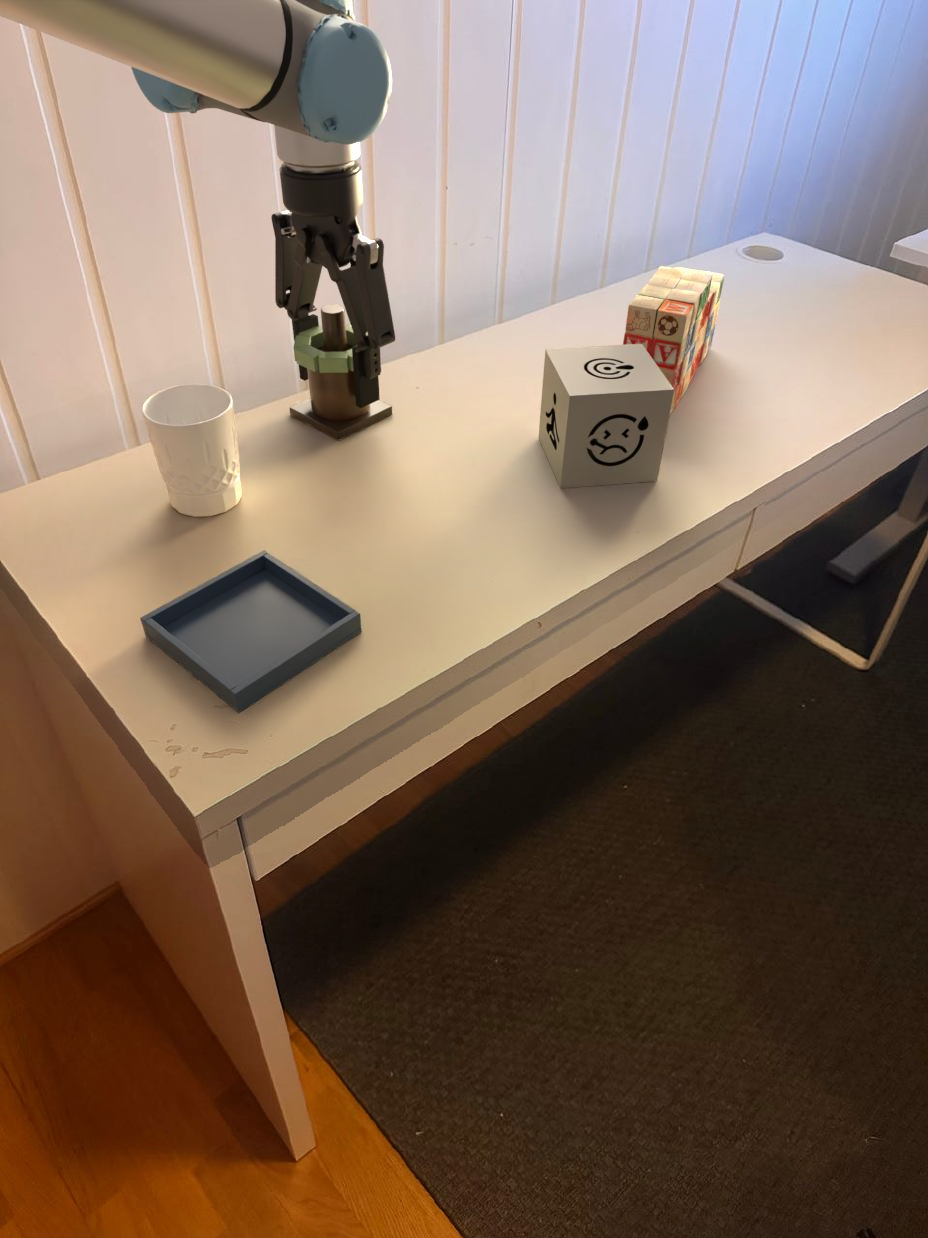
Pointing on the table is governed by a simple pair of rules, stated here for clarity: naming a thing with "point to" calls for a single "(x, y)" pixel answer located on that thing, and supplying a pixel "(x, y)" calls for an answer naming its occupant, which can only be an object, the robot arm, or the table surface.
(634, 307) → the stack of blocks
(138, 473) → the table surface
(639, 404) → the icon cube
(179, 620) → the tray
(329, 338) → the peg stand
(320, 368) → the ring
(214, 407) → the white cup
